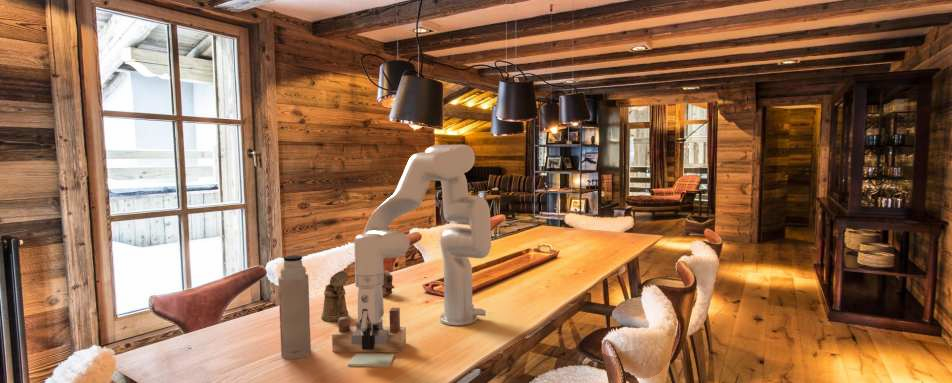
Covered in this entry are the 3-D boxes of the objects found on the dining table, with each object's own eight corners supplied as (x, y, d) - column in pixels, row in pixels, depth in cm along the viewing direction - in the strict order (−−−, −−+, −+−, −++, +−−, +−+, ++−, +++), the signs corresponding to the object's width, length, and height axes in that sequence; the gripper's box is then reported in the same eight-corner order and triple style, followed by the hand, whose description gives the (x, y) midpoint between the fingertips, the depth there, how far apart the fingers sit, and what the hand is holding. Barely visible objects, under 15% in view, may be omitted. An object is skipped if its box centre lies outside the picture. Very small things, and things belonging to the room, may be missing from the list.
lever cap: (388, 338, 140) (388, 327, 140) (384, 344, 136) (384, 332, 135) (356, 338, 141) (356, 326, 140) (351, 344, 136) (351, 332, 136)
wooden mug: (328, 327, 166) (326, 273, 165) (318, 316, 178) (317, 265, 177) (355, 322, 171) (353, 269, 169) (344, 312, 182) (342, 262, 181)
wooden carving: (367, 292, 209) (366, 268, 208) (377, 290, 212) (376, 266, 211) (388, 300, 196) (387, 275, 195) (398, 298, 199) (397, 273, 198)
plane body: (406, 343, 152) (405, 305, 151) (401, 352, 145) (400, 312, 144) (340, 342, 153) (339, 305, 152) (332, 351, 146) (331, 312, 145)
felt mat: (394, 356, 142) (394, 354, 142) (388, 366, 135) (388, 364, 135) (355, 355, 142) (355, 353, 142) (347, 366, 135) (347, 364, 135)
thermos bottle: (277, 359, 140) (273, 259, 138) (285, 348, 148) (282, 253, 146) (307, 358, 141) (303, 258, 139) (313, 347, 149) (310, 253, 147)
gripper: (375, 287, 128) (376, 358, 130) (390, 272, 145) (391, 335, 146) (346, 287, 129) (347, 357, 130) (364, 272, 146) (365, 334, 147)
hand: (370, 344), depth 138 cm, fingers closed on lever cap, 4 cm apart
